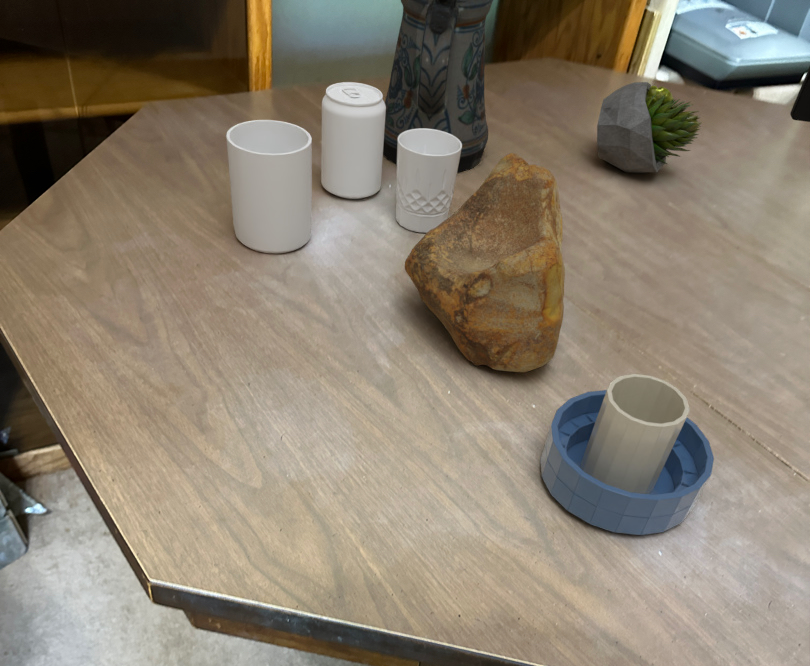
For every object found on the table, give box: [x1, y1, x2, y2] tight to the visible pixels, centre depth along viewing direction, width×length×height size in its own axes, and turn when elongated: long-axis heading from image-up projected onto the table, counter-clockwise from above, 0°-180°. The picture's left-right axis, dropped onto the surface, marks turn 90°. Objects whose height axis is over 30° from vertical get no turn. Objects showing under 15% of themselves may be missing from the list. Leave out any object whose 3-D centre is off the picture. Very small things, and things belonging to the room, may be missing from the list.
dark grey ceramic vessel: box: [383, 0, 494, 174], centre depth 105 cm, size 16×19×25 cm
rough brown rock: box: [404, 152, 566, 373], centre depth 81 cm, size 23×17×15 cm
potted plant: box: [596, 81, 702, 173], centre depth 114 cm, size 12×13×15 cm
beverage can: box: [320, 81, 386, 200], centre depth 101 cm, size 8×8×12 cm
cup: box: [580, 373, 691, 494], centre depth 67 cm, size 7×7×9 cm
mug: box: [225, 119, 313, 254], centre depth 91 cm, size 10×12×12 cm
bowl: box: [539, 389, 715, 536], centre depth 69 cm, size 14×14×5 cm
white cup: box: [395, 128, 462, 234], centre depth 97 cm, size 8×8×10 cm
